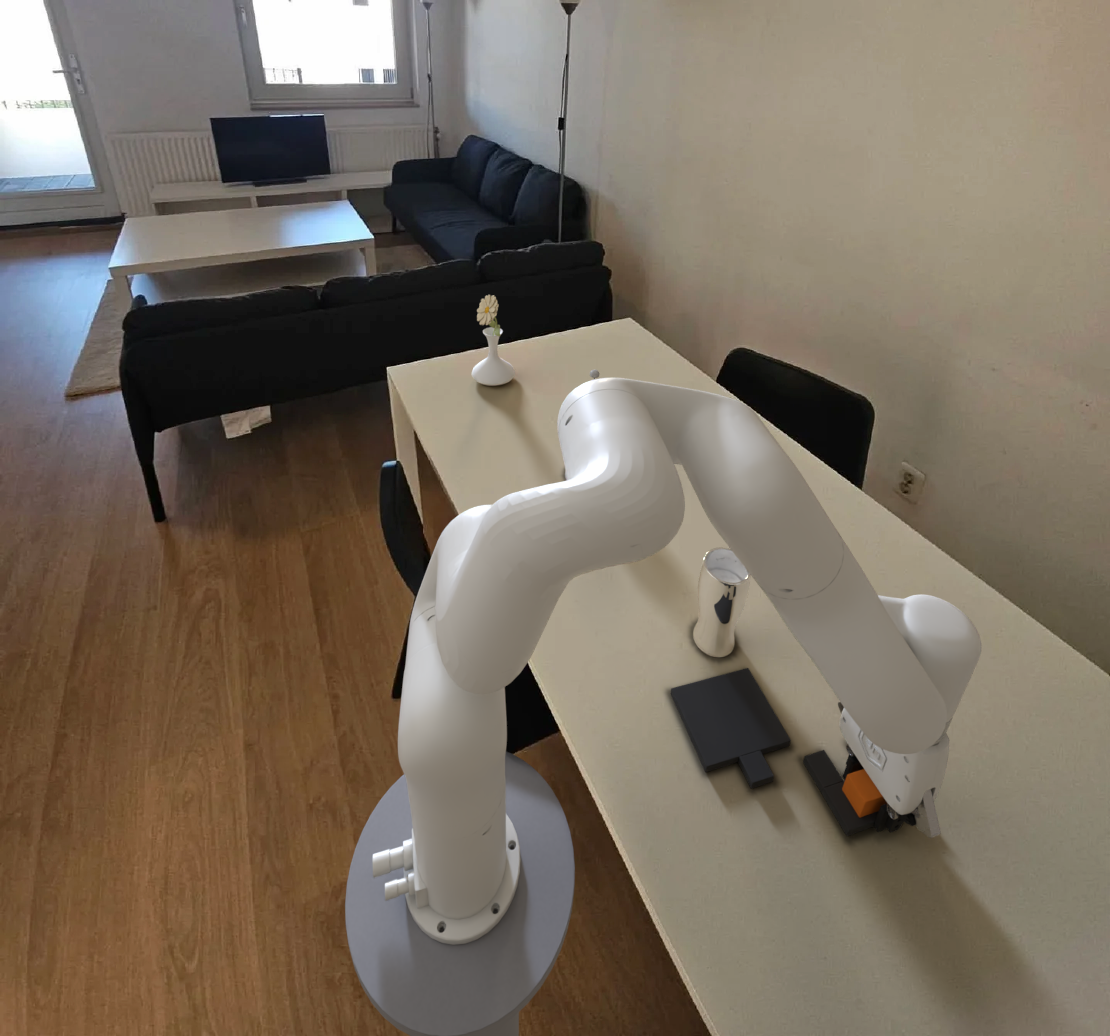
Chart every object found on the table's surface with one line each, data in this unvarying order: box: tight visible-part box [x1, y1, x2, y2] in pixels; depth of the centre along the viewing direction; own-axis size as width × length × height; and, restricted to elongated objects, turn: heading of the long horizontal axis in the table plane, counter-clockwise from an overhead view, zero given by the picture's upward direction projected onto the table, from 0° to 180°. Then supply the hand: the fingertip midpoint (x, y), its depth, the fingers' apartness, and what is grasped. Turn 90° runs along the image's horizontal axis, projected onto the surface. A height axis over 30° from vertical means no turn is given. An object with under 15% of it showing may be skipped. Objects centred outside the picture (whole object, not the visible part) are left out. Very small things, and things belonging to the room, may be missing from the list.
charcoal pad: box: [670, 667, 792, 789], centre depth 79 cm, size 12×13×1 cm
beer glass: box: [692, 546, 751, 658], centre depth 88 cm, size 7×7×15 cm
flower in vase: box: [471, 294, 516, 387], centre depth 153 cm, size 13×11×25 cm
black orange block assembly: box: [802, 749, 887, 837], centre depth 73 cm, size 10×8×4 cm
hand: (870, 799), depth 72 cm, fingers closed on black orange block assembly, 4 cm apart
